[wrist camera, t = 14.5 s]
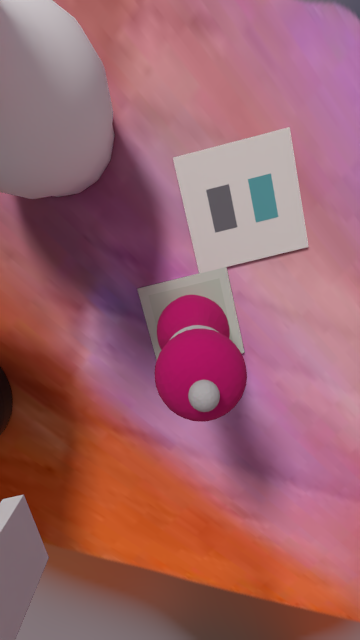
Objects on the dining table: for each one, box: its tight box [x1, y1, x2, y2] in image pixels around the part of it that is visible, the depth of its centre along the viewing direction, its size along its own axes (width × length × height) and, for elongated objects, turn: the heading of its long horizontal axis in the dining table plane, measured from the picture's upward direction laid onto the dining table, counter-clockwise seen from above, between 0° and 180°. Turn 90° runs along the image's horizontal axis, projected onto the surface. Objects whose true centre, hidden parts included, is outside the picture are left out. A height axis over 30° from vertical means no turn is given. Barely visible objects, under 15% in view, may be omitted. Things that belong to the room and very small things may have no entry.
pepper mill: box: [155, 295, 247, 421], centre depth 28 cm, size 7×7×20 cm
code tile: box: [173, 127, 308, 274], centre depth 35 cm, size 12×12×1 cm
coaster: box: [137, 267, 244, 360], centre depth 38 cm, size 10×10×1 cm
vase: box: [0, 0, 115, 199], centre depth 24 cm, size 14×14×20 cm
